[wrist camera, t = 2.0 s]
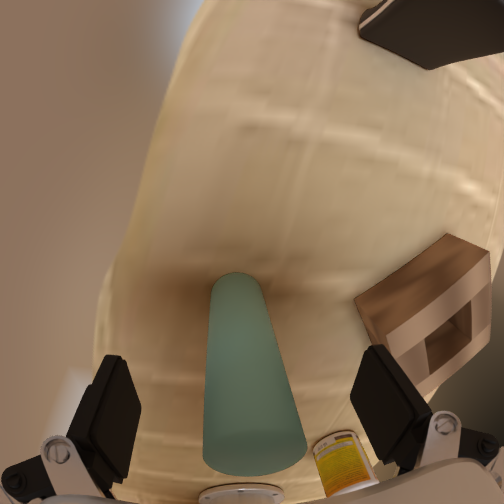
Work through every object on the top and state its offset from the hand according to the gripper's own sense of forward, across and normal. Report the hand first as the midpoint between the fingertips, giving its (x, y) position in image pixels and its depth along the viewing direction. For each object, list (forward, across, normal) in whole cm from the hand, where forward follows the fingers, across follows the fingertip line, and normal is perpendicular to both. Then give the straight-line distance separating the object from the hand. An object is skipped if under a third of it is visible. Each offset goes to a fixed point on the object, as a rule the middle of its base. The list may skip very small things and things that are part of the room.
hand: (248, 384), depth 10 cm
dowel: (+9, 0, +1) cm, 9 cm away
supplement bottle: (+9, -11, +21) cm, 25 cm away
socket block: (+9, -15, +3) cm, 18 cm away
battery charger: (+10, -12, -19) cm, 24 cm away
